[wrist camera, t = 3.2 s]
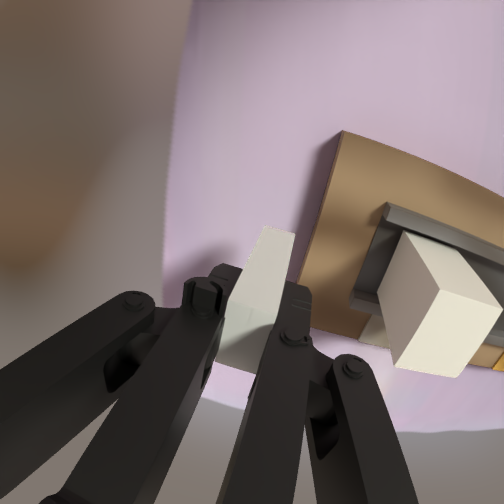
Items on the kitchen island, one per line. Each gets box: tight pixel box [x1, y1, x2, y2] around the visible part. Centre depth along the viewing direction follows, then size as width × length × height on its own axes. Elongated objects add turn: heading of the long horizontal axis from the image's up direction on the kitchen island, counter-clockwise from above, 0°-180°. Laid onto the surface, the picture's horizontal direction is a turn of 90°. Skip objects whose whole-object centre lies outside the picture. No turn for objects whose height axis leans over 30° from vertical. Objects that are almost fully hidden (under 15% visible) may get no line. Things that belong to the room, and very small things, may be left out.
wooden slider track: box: [296, 130, 504, 371], centre depth 18 cm, size 13×28×3 cm, turn 78°
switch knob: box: [377, 230, 503, 378], centre depth 15 cm, size 4×4×7 cm
